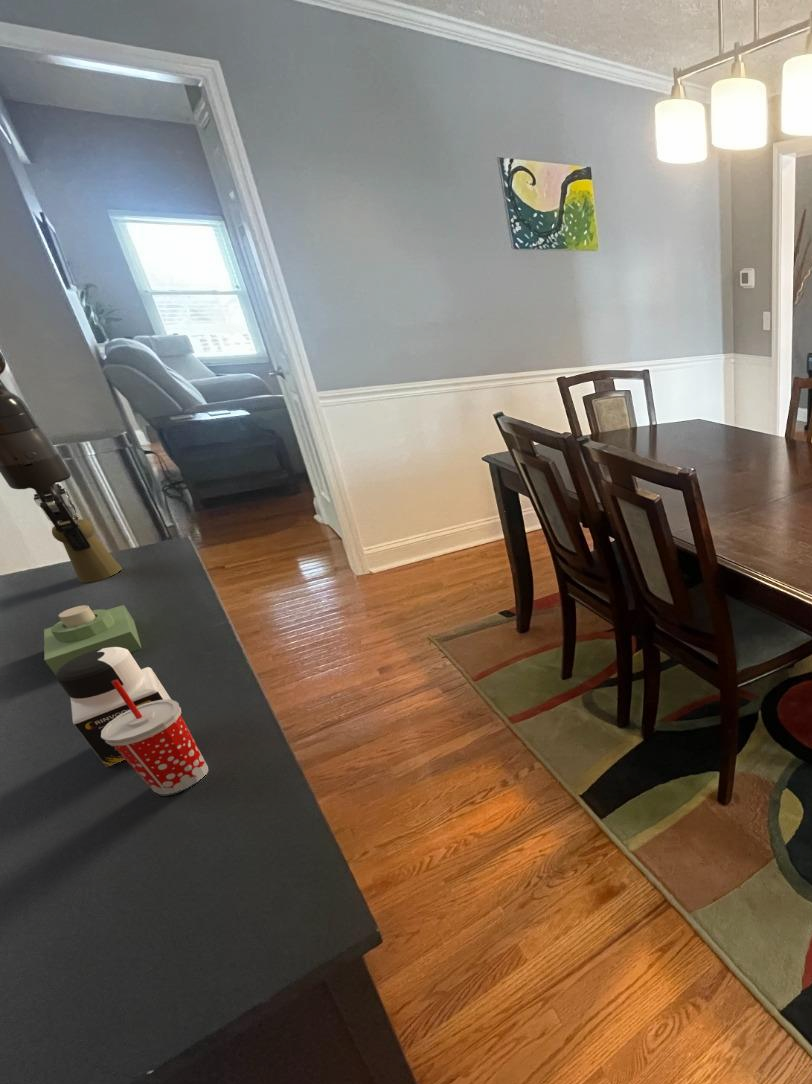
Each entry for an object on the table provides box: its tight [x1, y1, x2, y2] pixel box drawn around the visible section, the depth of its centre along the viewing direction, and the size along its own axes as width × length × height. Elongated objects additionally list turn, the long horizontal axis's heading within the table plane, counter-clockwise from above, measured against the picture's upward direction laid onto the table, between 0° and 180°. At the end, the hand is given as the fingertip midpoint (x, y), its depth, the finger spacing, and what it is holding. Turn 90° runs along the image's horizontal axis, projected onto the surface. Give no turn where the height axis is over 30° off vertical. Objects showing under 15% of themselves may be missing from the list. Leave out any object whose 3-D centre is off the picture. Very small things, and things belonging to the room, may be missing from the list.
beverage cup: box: [101, 680, 209, 794], centre depth 63 cm, size 6×6×14 cm
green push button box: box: [43, 604, 143, 676], centre depth 90 cm, size 12×9×5 cm
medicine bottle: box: [55, 647, 172, 768], centre depth 70 cm, size 7×7×12 cm
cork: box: [51, 518, 123, 584], centre depth 111 cm, size 6×6×11 cm
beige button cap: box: [58, 604, 96, 628], centre depth 88 cm, size 3×3×2 cm
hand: (82, 544), depth 110 cm, fingers closed on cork, 5 cm apart
